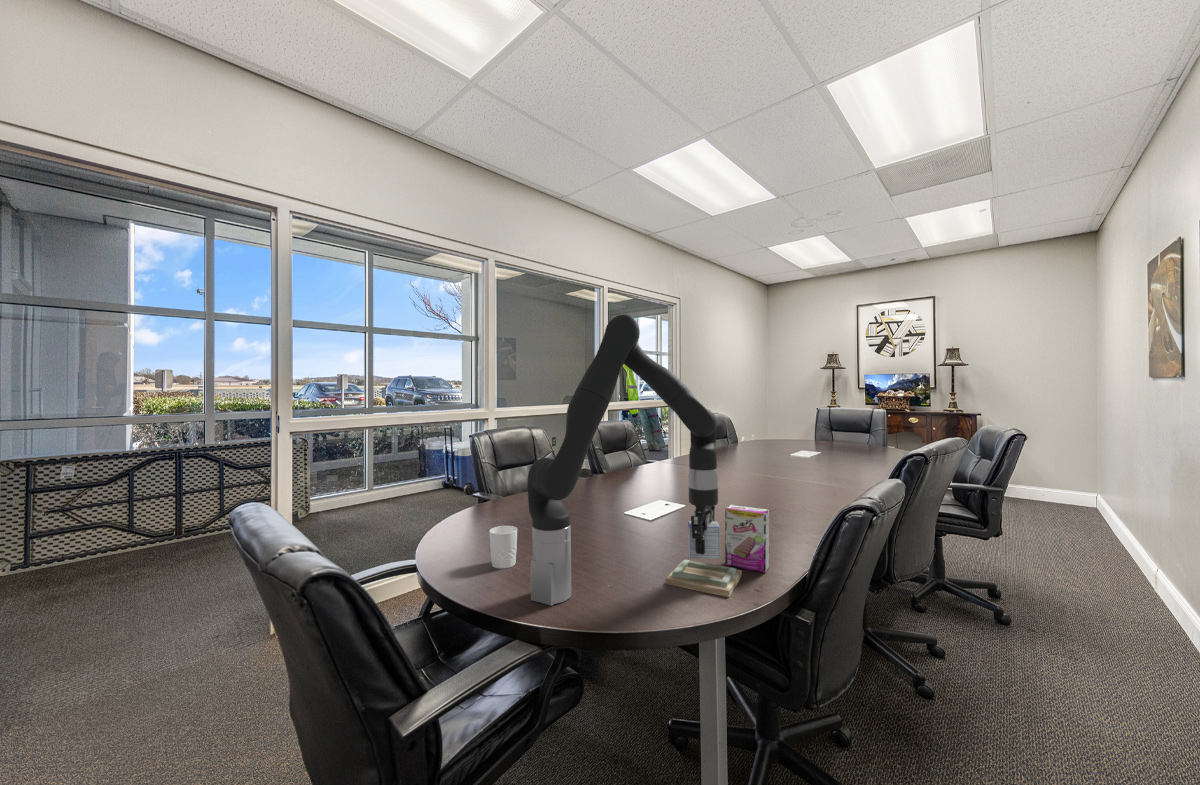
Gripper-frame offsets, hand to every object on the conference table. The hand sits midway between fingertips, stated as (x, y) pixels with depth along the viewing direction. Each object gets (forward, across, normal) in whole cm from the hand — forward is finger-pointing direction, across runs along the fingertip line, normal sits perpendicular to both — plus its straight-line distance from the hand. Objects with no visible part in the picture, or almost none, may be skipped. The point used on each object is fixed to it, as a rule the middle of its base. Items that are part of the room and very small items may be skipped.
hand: (703, 549), depth 120 cm
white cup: (+8, -16, +54) cm, 57 cm away
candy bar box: (+8, +14, -8) cm, 18 cm away
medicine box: (+2, 0, 0) cm, 2 cm away
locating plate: (+8, 0, 0) cm, 8 cm away
